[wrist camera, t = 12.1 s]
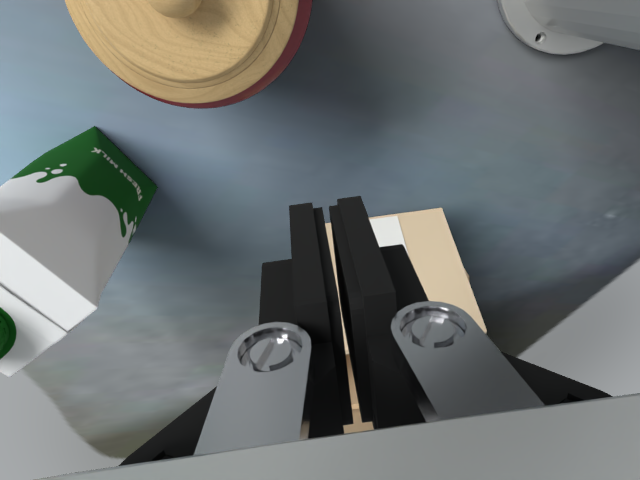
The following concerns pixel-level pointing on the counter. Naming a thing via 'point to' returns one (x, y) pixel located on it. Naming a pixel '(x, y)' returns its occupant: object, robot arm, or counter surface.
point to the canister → (194, 45)
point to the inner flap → (425, 257)
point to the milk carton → (63, 240)
